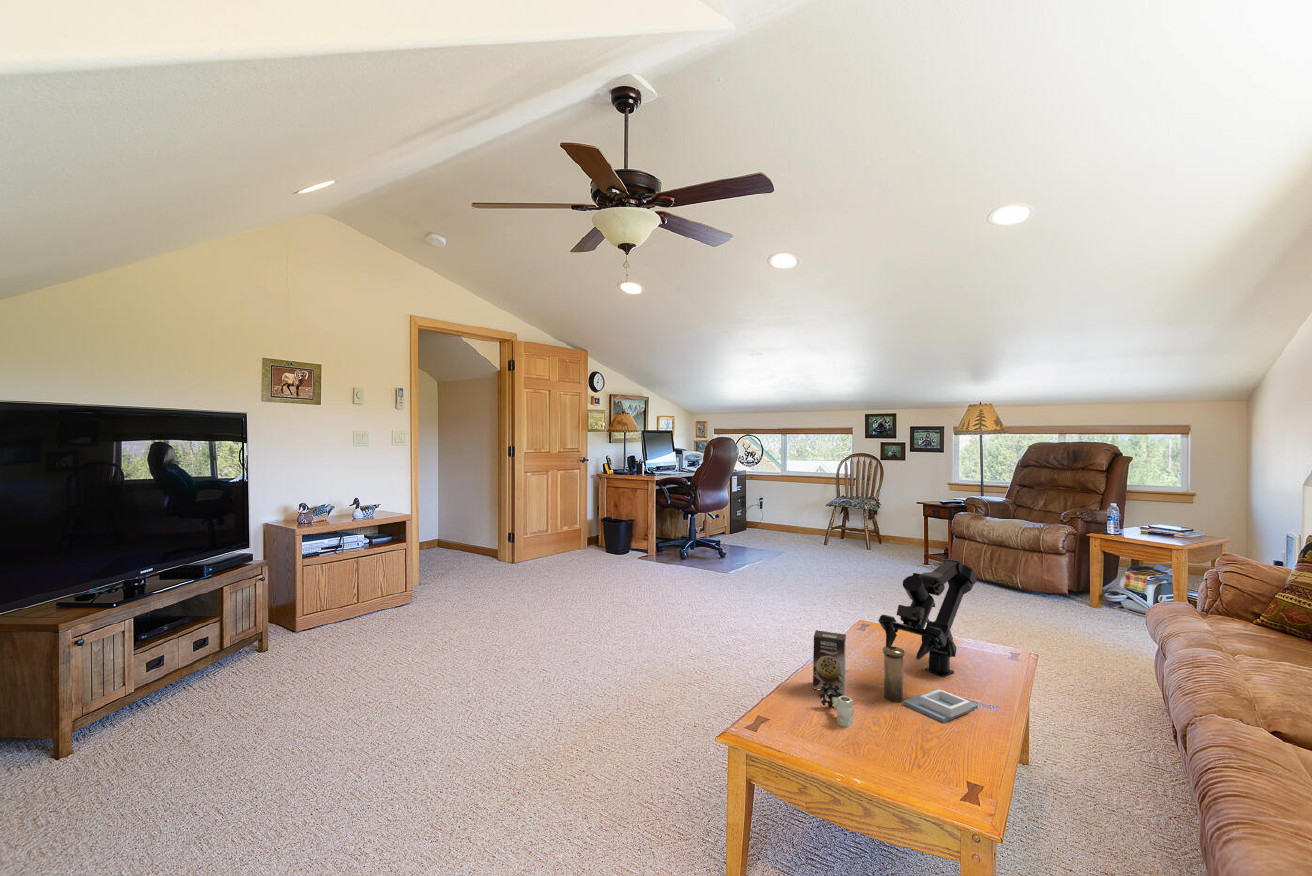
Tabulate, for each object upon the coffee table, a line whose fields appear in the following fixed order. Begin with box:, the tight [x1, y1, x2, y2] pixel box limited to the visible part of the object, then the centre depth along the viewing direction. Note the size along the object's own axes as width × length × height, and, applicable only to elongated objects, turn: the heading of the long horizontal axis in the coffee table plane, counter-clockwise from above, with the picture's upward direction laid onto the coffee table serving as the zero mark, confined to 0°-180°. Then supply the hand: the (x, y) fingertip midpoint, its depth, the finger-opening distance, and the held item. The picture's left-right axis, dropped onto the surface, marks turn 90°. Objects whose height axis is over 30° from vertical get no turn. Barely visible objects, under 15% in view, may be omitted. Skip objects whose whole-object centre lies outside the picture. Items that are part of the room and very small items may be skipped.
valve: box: [818, 683, 854, 728], centre depth 153 cm, size 7×7×12 cm
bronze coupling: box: [882, 645, 905, 703], centre depth 164 cm, size 6×6×14 cm
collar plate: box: [902, 688, 979, 724], centre depth 159 cm, size 16×12×3 cm
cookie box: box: [812, 629, 847, 696], centre depth 170 cm, size 9×6×16 cm
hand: (901, 654), depth 167 cm, fingers open, 9 cm apart
